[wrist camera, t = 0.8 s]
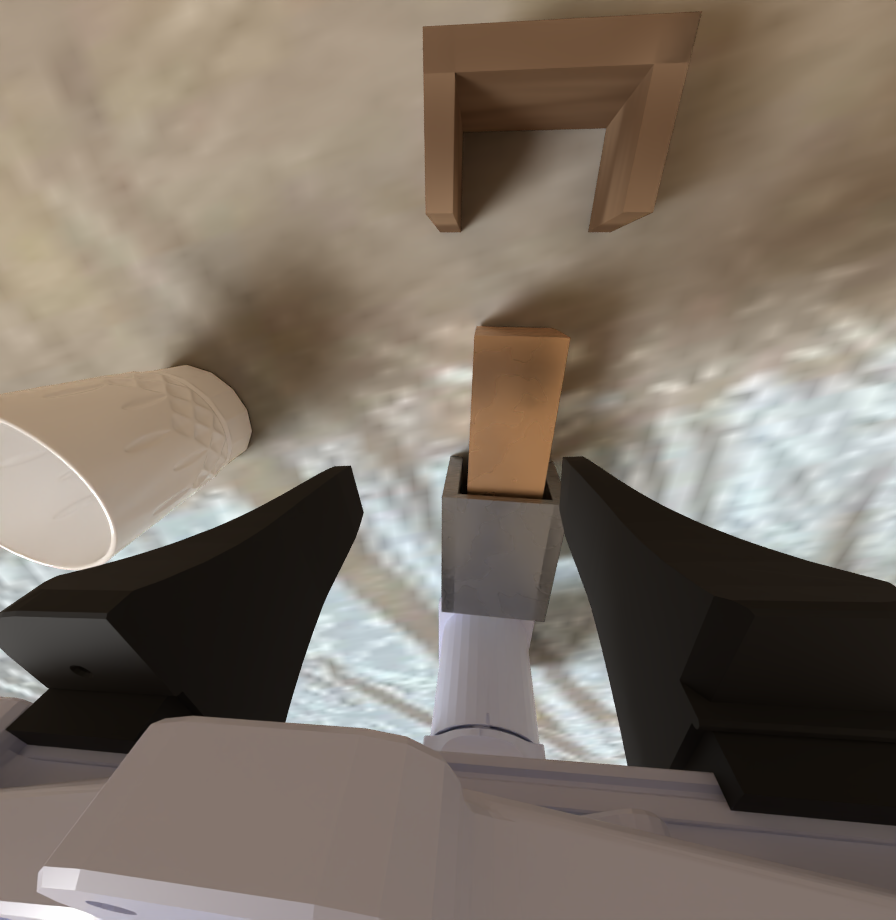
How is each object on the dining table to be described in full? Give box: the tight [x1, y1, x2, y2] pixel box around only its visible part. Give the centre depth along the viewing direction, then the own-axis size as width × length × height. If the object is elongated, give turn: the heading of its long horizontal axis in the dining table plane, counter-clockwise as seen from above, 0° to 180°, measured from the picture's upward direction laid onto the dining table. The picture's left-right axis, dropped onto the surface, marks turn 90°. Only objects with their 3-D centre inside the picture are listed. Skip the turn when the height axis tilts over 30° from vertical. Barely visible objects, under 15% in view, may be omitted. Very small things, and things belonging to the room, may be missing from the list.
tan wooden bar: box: [467, 326, 570, 500], centre depth 19 cm, size 16×4×4 cm, turn 179°
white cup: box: [0, 365, 252, 570], centre depth 18 cm, size 8×8×10 cm
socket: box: [423, 11, 702, 232], centre depth 13 cm, size 5×8×4 cm, turn 89°
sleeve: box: [441, 456, 564, 622], centre depth 21 cm, size 9×7×5 cm
